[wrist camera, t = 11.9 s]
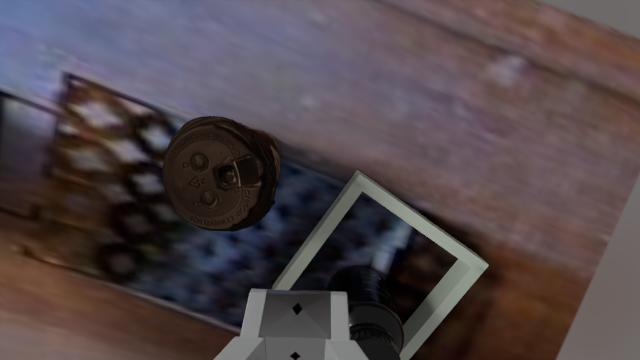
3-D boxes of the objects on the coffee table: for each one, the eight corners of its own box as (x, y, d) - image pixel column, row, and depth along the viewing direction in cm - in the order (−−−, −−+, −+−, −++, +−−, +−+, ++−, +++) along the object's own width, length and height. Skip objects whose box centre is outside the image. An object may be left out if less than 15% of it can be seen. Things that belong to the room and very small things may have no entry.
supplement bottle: (363, 332, 40) (377, 422, 28) (313, 298, 39) (306, 375, 27) (401, 286, 39) (432, 359, 27) (351, 250, 38) (360, 309, 26)
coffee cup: (309, 143, 36) (297, 156, 23) (274, 213, 38) (244, 261, 25) (232, 103, 36) (176, 94, 23) (199, 175, 37) (130, 205, 24)
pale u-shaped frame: (387, 360, 40) (392, 379, 37) (273, 284, 39) (268, 297, 36) (476, 253, 38) (489, 265, 35) (357, 169, 37) (359, 173, 34)
